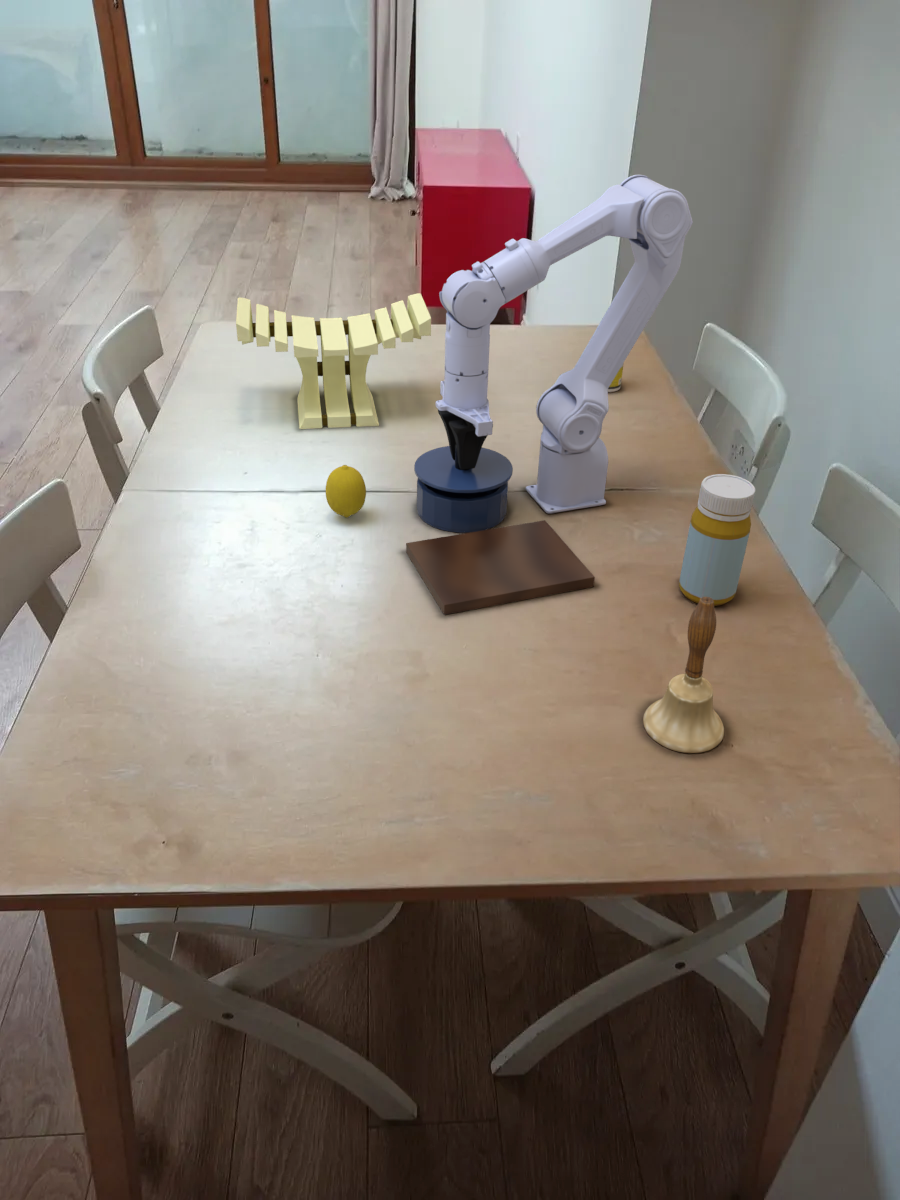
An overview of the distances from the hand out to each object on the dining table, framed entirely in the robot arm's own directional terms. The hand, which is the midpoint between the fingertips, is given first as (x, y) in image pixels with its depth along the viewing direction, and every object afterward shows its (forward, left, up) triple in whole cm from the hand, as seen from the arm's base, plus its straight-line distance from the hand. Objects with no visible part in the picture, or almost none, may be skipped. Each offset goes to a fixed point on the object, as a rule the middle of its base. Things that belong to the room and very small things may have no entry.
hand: (463, 463), depth 134 cm
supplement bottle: (-41, -35, -8) cm, 54 cm away
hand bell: (-6, +50, -8) cm, 51 cm away
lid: (0, 0, -1) cm, 1 cm away
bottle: (-22, +29, -8) cm, 37 cm away
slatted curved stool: (+8, -40, -8) cm, 42 cm away
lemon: (+16, -3, -8) cm, 18 cm away
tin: (0, 0, -7) cm, 7 cm away
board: (+1, +16, -7) cm, 18 cm away
